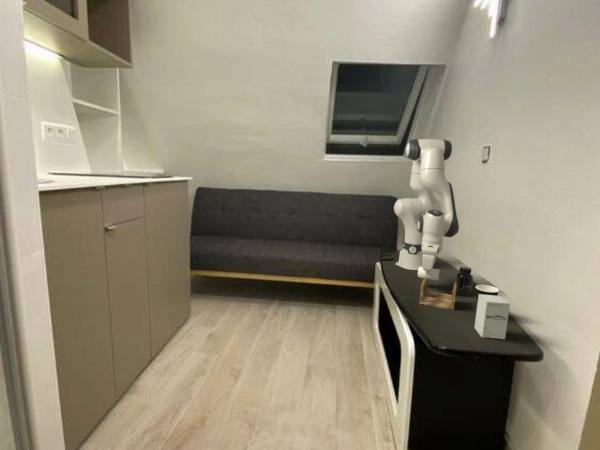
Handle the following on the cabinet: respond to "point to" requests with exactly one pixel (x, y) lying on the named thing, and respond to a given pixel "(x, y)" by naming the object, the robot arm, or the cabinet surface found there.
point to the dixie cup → (485, 291)
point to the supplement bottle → (464, 281)
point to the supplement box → (492, 316)
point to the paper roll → (433, 274)
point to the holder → (437, 297)
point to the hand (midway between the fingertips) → (428, 274)
